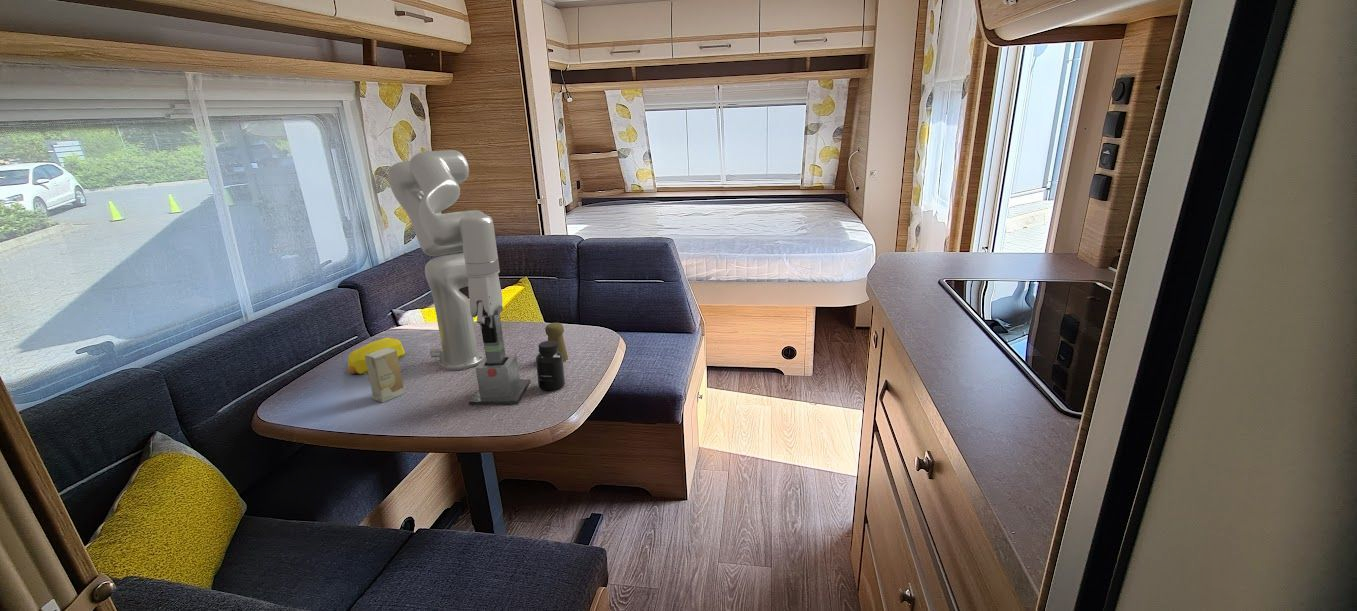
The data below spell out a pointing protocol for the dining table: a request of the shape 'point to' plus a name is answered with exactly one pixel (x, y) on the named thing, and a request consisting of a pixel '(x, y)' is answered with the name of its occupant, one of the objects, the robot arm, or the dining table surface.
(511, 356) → the stand base
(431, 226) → the robot arm
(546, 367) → the supplement bottle
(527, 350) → the dining table surface
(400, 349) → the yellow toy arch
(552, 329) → the olive knobbed figure
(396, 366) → the skincare box
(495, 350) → the column
